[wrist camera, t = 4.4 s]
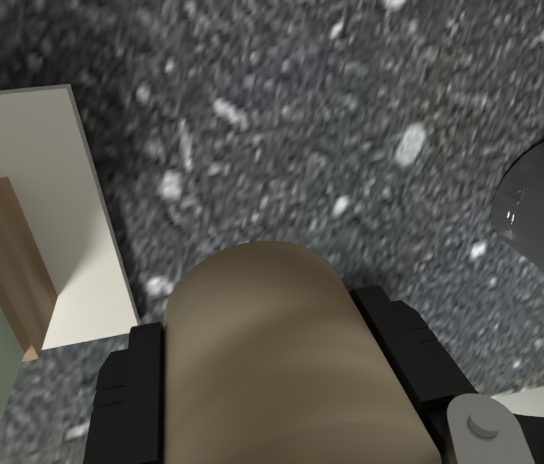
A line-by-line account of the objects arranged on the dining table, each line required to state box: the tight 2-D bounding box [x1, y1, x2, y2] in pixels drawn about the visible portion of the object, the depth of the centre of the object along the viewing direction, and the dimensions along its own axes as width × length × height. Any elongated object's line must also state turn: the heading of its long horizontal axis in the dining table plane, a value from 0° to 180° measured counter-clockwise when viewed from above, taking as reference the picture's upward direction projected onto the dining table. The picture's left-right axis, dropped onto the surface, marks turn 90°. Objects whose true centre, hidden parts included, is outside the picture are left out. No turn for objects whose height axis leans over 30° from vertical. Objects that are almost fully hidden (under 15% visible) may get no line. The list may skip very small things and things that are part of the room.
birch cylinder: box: [163, 241, 442, 464], centre depth 9 cm, size 5×5×5 cm
